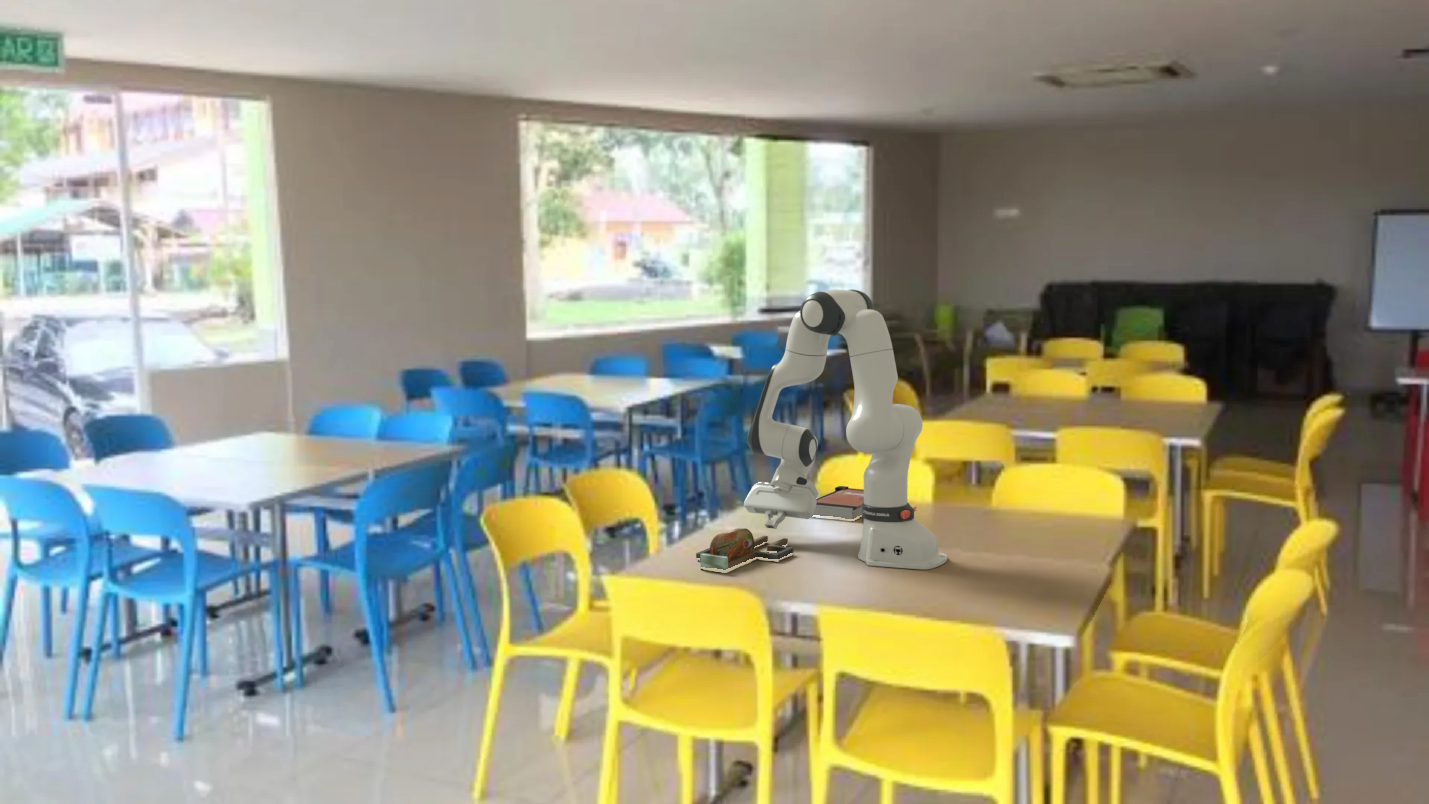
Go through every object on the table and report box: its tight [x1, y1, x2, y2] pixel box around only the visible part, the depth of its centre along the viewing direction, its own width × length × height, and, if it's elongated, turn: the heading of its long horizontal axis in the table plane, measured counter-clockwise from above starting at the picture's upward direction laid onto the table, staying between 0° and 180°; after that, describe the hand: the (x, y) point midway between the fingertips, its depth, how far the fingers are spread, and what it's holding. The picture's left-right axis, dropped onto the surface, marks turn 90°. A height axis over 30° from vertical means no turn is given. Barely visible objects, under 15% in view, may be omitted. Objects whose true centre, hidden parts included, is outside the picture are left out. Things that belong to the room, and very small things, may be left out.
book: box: [813, 485, 864, 519], centre depth 360 cm, size 26×18×5 cm
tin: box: [709, 527, 755, 562], centre depth 303 cm, size 15×3×8 cm, turn 139°
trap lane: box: [695, 535, 794, 570], centre depth 308 cm, size 19×31×4 cm, turn 147°
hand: (770, 527), depth 318 cm, fingers closed
